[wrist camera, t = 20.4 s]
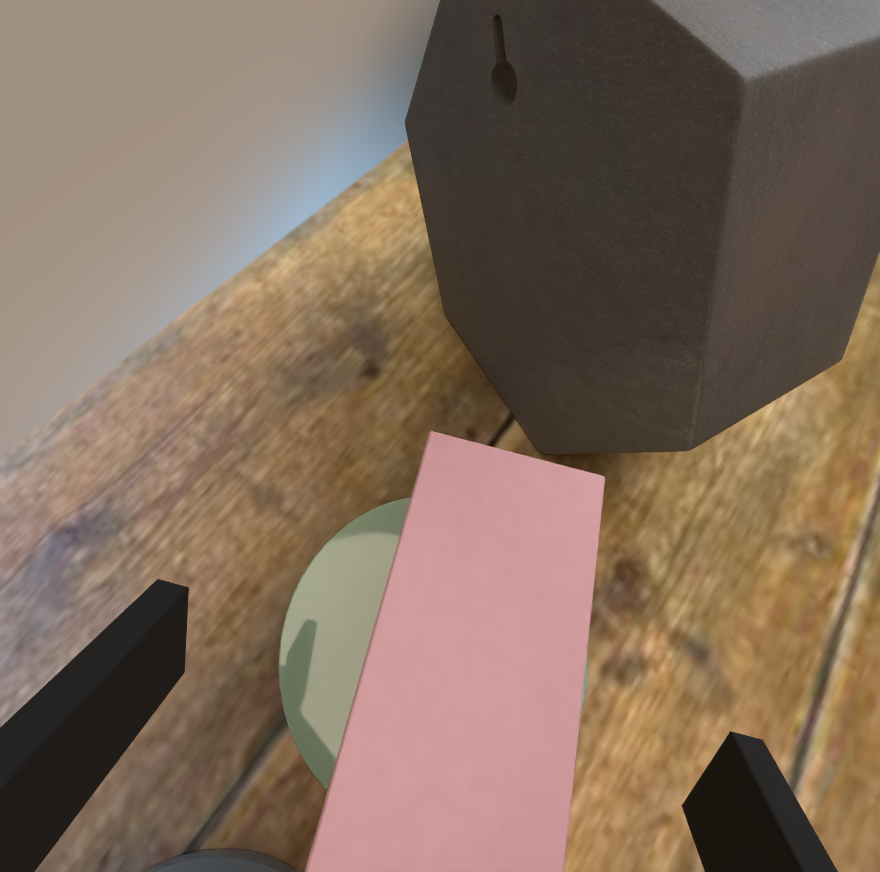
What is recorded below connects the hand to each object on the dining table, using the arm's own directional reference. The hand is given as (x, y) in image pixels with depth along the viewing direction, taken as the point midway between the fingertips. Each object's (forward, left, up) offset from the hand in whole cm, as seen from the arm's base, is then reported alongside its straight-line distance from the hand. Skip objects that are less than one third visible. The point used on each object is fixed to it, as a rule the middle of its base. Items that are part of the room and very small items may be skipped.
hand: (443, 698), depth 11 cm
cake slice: (0, +1, -9) cm, 9 cm away
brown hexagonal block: (-1, +18, -10) cm, 21 cm away
